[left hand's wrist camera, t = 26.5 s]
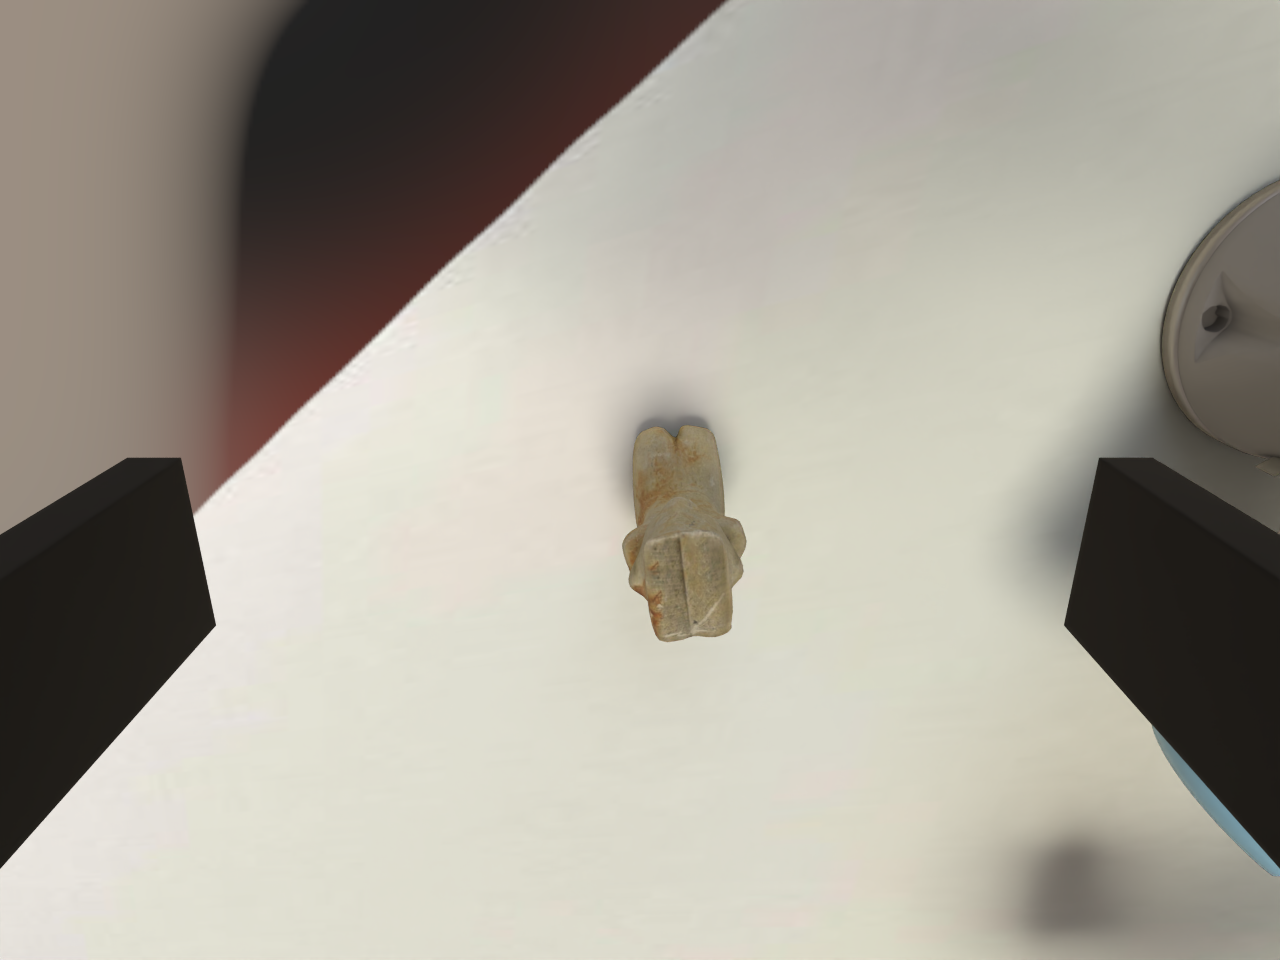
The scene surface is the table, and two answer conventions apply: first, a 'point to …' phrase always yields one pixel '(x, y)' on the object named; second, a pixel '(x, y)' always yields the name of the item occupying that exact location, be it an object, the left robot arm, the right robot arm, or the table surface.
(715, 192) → the table surface
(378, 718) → the table surface
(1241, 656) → the left robot arm
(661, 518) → the sculpture
